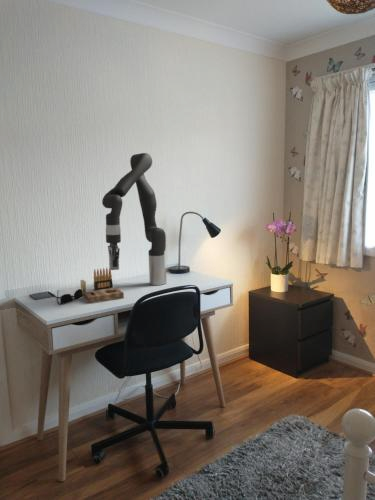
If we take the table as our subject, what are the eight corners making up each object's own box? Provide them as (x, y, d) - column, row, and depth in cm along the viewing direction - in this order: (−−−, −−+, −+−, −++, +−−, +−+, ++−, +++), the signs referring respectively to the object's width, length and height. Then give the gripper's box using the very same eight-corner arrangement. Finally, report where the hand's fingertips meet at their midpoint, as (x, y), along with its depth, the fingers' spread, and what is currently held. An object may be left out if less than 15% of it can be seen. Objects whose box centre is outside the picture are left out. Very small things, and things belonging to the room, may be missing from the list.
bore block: (117, 293, 220) (116, 287, 219) (123, 298, 209) (123, 292, 209) (83, 297, 212) (83, 292, 212) (88, 303, 201) (88, 297, 201)
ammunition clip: (94, 290, 226) (93, 269, 224) (93, 290, 228) (92, 269, 226) (112, 287, 232) (111, 267, 230) (111, 287, 233) (110, 266, 231)
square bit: (116, 268, 216) (116, 253, 214) (119, 269, 212) (118, 254, 211) (109, 268, 214) (109, 253, 213) (111, 270, 210) (111, 254, 209)
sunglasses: (64, 294, 221) (64, 285, 220) (85, 297, 214) (84, 288, 213) (41, 302, 206) (40, 293, 205) (62, 306, 199) (61, 296, 199)
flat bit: (84, 294, 219) (83, 279, 218) (86, 296, 215) (85, 281, 214) (81, 294, 219) (80, 280, 217) (83, 296, 215) (82, 281, 213)
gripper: (124, 234, 206) (125, 267, 208) (116, 231, 218) (117, 263, 221) (109, 235, 202) (110, 268, 205) (102, 232, 215) (103, 264, 217)
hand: (114, 265), depth 213 cm, fingers closed on square bit, 4 cm apart
